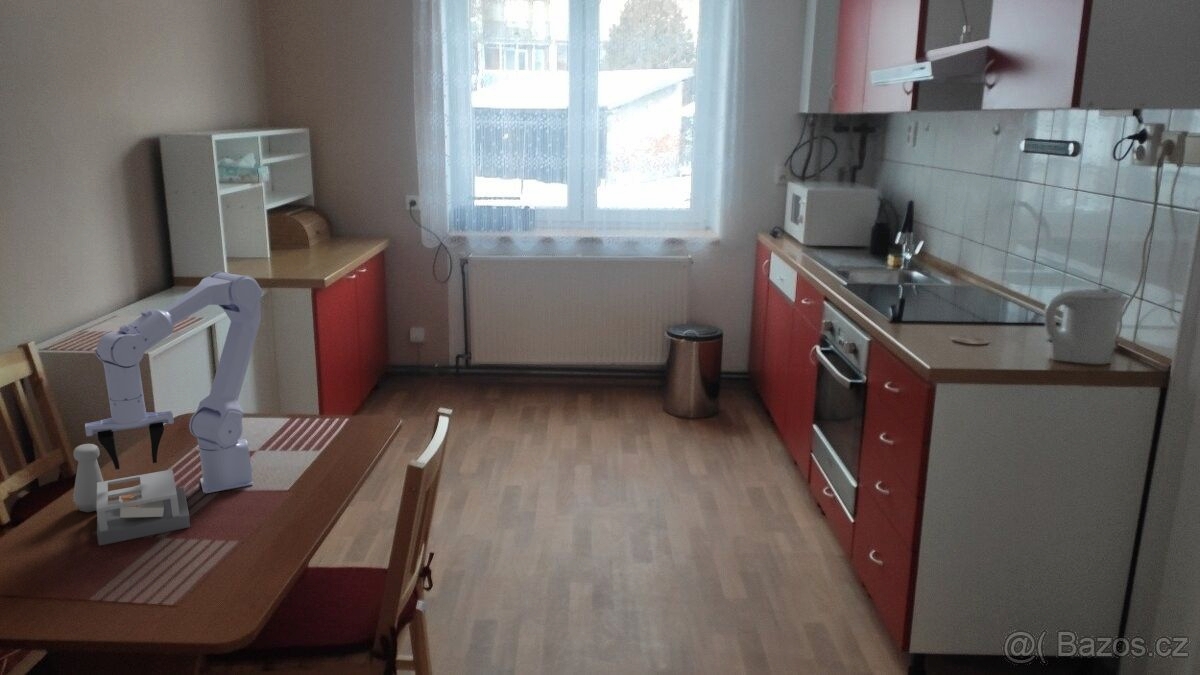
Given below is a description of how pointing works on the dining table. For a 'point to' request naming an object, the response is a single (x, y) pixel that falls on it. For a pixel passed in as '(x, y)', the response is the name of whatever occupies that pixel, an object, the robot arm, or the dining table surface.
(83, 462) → the salt shaker
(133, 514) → the rocker near
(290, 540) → the dining table surface
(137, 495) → the rocker far
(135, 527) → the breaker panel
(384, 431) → the dining table surface
